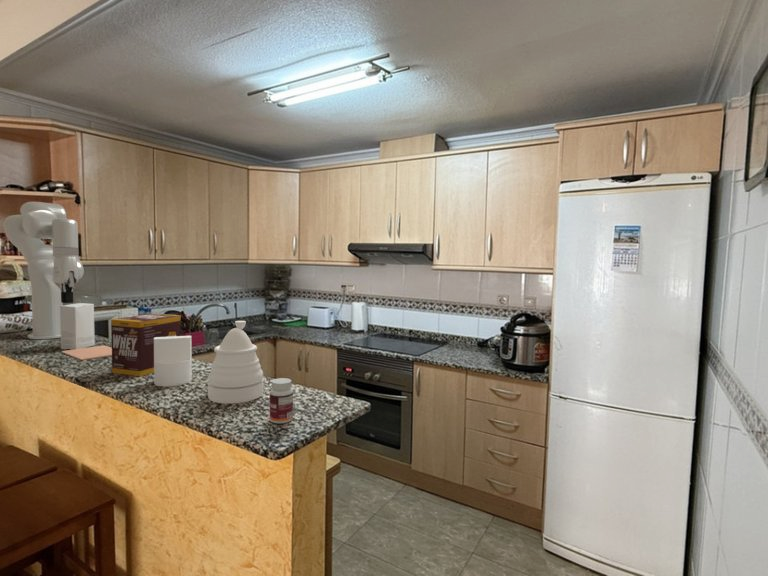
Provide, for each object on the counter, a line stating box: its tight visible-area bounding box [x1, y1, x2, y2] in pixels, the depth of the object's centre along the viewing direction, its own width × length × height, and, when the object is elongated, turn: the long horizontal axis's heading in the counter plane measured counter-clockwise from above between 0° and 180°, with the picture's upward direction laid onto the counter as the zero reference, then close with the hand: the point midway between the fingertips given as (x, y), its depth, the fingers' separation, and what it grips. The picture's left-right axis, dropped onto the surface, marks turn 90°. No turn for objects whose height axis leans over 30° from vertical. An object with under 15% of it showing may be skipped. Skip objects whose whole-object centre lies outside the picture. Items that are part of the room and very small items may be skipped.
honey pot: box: [207, 320, 264, 404], centre depth 102 cm, size 13×13×18 cm
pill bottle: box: [269, 377, 294, 424], centre depth 87 cm, size 5×5×8 cm
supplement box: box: [110, 312, 182, 377], centre depth 123 cm, size 10×15×16 cm
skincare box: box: [60, 302, 96, 350], centre depth 147 cm, size 8×7×16 cm
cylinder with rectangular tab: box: [153, 335, 193, 387], centre depth 111 cm, size 9×9×12 cm
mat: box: [60, 345, 112, 361], centre depth 141 cm, size 17×13×1 cm
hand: (67, 302), depth 152 cm, fingers closed
